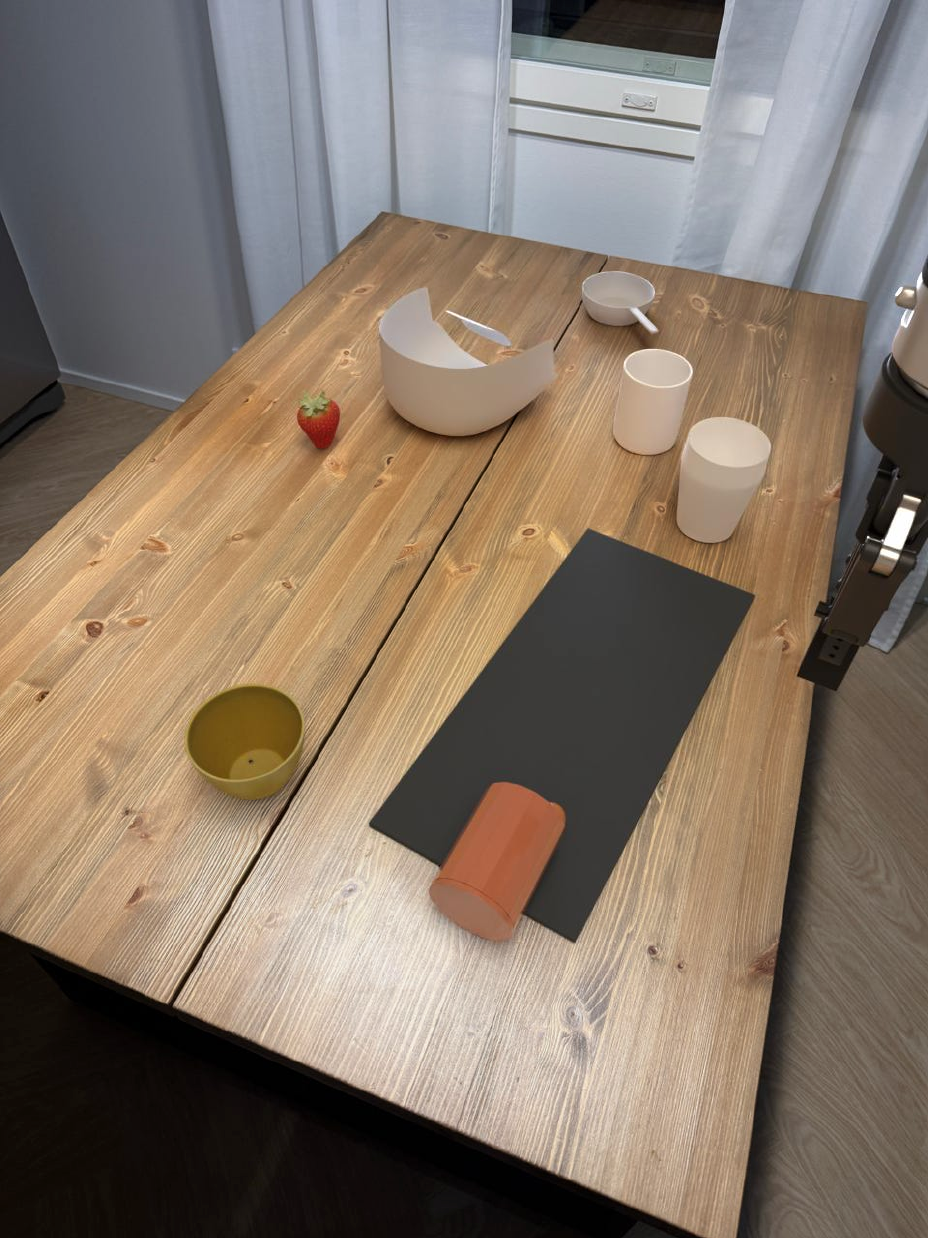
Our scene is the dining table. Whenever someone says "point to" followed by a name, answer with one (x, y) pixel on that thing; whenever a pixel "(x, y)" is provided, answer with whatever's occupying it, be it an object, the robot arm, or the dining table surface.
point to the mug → (651, 401)
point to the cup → (719, 476)
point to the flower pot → (246, 740)
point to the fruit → (319, 419)
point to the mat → (576, 715)
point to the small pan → (618, 299)
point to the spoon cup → (497, 861)
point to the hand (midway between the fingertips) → (819, 676)
